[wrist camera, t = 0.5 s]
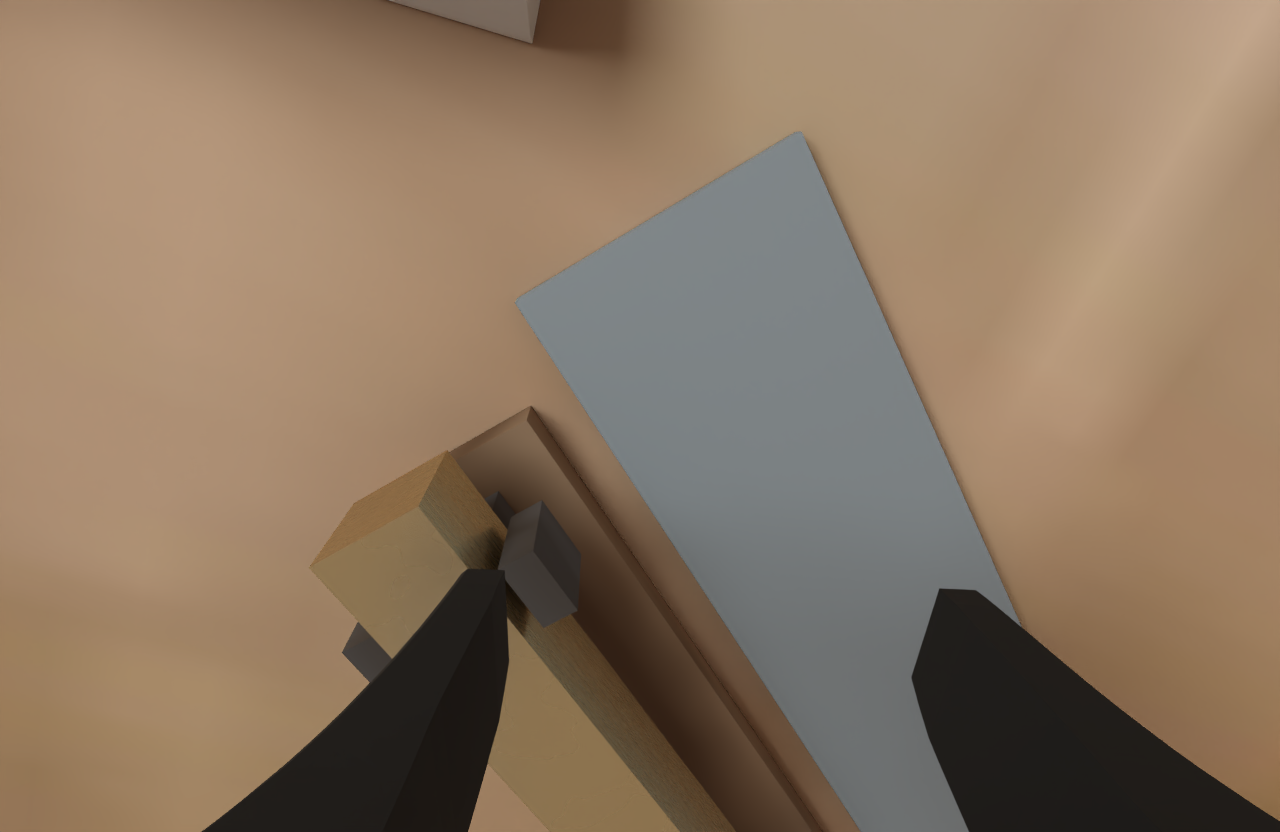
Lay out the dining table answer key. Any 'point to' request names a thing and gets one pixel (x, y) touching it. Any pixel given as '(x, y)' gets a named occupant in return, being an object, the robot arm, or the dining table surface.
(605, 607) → the rail stand
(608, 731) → the rail
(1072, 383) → the dining table surface
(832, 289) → the mat
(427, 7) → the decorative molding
